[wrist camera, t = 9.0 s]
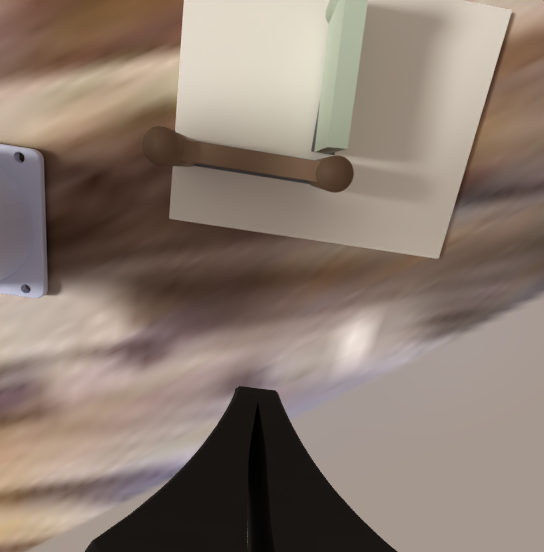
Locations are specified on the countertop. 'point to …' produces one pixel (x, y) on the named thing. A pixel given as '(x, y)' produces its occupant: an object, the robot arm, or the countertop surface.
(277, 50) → the card
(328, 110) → the sage fence panel
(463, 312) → the countertop surface
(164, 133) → the walnut fence section
